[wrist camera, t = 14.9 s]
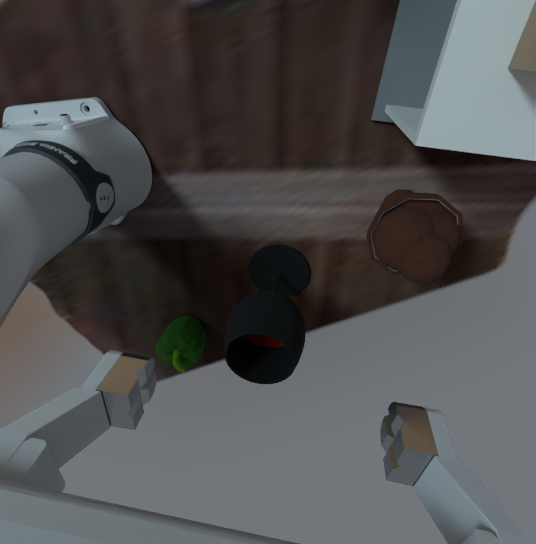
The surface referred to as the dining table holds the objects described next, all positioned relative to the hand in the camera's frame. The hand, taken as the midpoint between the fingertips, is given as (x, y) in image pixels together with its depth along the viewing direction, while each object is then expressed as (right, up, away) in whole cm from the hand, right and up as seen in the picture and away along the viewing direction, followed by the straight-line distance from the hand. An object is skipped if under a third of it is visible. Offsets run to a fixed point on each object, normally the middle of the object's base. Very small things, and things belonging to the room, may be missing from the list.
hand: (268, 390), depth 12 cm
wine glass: (+2, +4, +47) cm, 47 cm away
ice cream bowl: (+19, +13, +38) cm, 44 cm away
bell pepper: (-15, -6, +57) cm, 59 cm away
